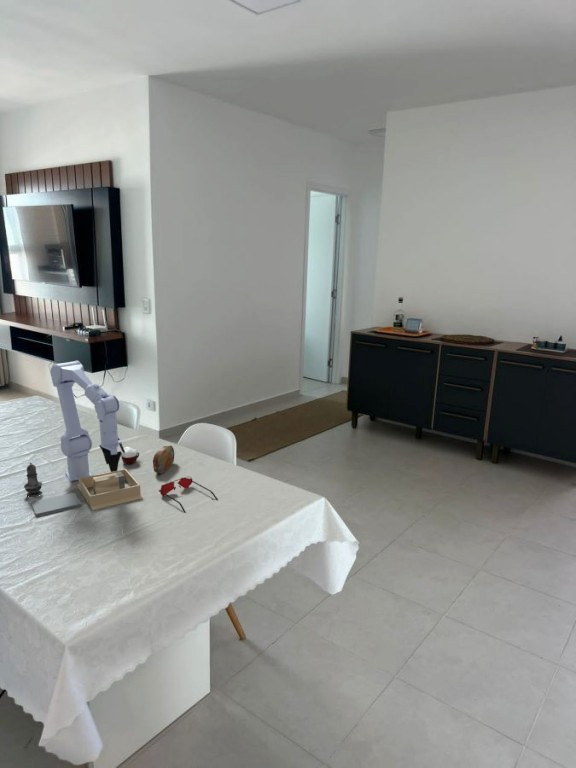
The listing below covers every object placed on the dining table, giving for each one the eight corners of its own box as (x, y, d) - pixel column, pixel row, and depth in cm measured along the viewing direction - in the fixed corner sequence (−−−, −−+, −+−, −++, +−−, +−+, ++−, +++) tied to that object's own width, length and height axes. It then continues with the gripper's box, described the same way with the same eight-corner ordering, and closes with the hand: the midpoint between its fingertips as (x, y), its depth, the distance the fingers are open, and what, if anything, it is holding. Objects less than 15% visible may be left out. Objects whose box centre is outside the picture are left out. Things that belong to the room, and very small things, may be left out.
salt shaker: (47, 492, 188) (43, 460, 185) (34, 499, 183) (30, 466, 180) (33, 489, 190) (30, 458, 187) (21, 496, 185) (17, 464, 182)
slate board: (31, 504, 179) (31, 501, 179) (74, 494, 186) (74, 492, 186) (36, 516, 171) (35, 514, 171) (81, 506, 178) (81, 503, 178)
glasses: (191, 486, 196) (191, 473, 195) (218, 501, 185) (218, 487, 183) (158, 497, 187) (157, 484, 185) (184, 514, 175) (184, 500, 174)
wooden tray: (77, 486, 193) (76, 475, 192) (124, 476, 203) (123, 466, 202) (92, 510, 176) (91, 499, 175) (143, 498, 185) (142, 487, 184)
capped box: (93, 493, 188) (92, 477, 187) (122, 486, 193) (121, 471, 192) (96, 497, 185) (95, 481, 183) (125, 491, 190) (124, 475, 189)
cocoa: (138, 459, 220) (138, 431, 218) (141, 464, 214) (141, 436, 212) (114, 462, 215) (114, 434, 213) (117, 467, 210) (117, 438, 208)
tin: (159, 476, 203) (158, 456, 201) (152, 476, 203) (151, 455, 201) (175, 462, 217) (174, 442, 215) (168, 461, 217) (167, 442, 215)
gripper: (125, 435, 179) (127, 472, 183) (116, 423, 192) (119, 458, 195) (103, 438, 176) (106, 476, 179) (96, 426, 188) (99, 462, 192)
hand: (111, 467), depth 187 cm, fingers open, 7 cm apart
